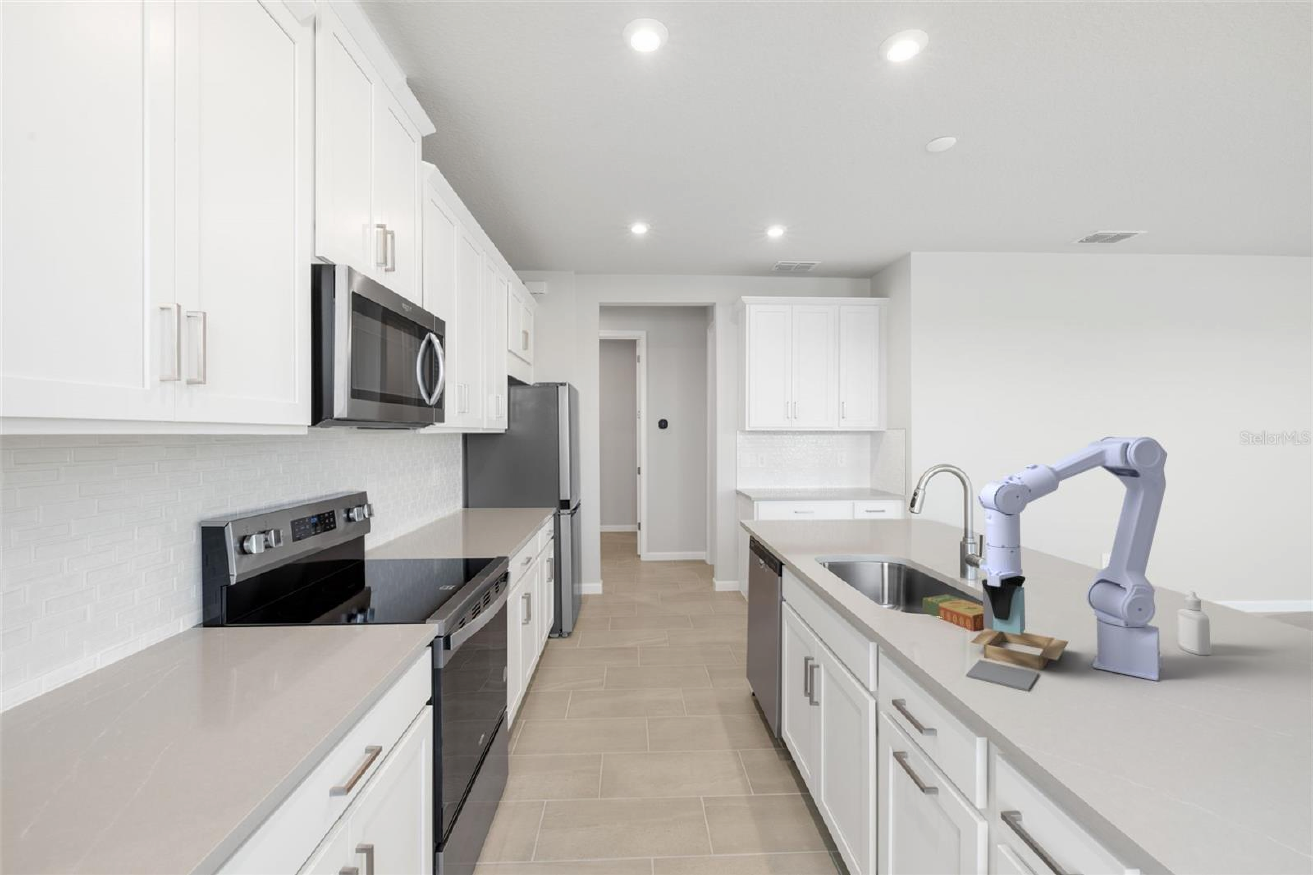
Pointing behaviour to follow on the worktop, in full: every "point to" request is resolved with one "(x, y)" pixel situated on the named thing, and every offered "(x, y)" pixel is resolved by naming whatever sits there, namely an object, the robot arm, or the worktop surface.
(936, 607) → the carton
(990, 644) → the open carton
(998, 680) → the slate coaster
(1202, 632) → the eye dropper bottle
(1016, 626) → the capped box
